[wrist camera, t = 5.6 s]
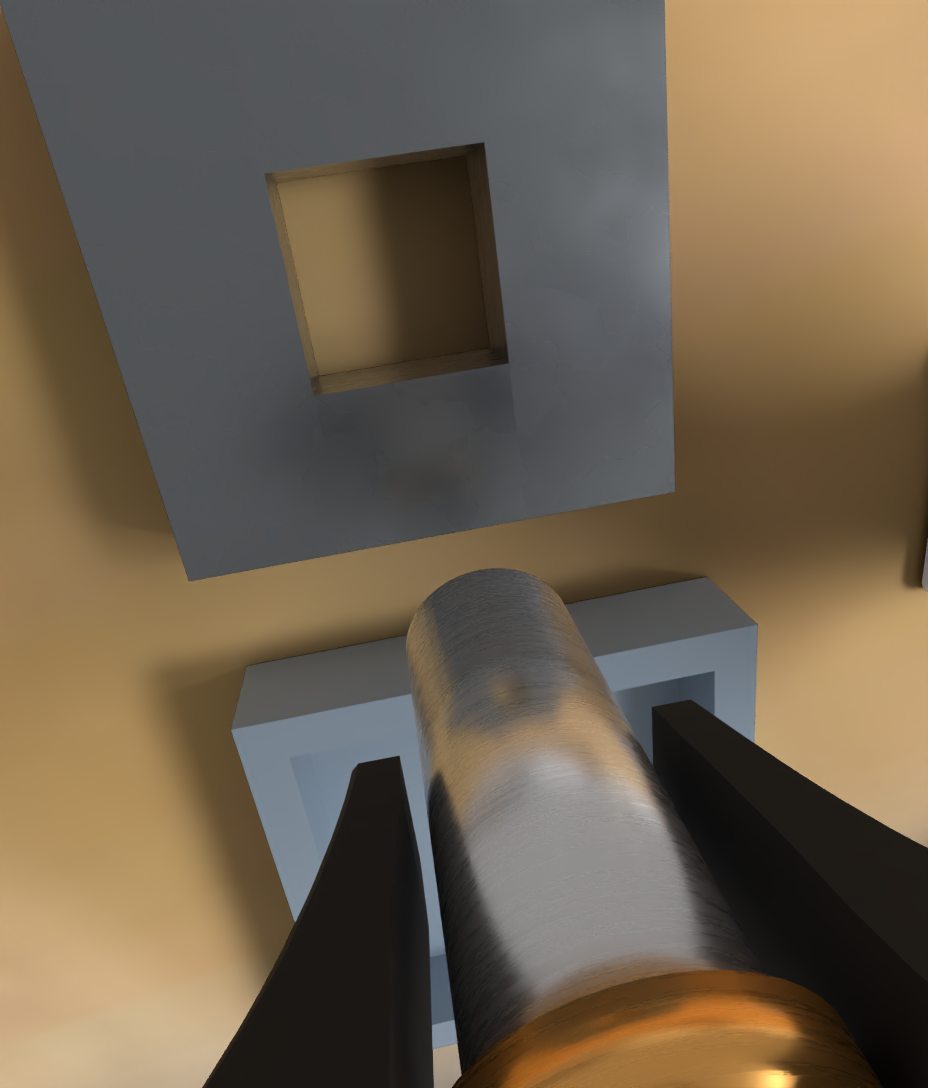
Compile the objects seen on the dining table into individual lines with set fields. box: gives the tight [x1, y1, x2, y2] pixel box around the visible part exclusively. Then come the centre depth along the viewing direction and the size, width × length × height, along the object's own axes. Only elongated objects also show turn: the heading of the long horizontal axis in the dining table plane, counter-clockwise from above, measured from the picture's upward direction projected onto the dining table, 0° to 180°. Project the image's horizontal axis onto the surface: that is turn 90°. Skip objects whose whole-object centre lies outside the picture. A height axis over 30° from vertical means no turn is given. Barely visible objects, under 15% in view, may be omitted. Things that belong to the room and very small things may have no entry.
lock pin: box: [406, 569, 883, 1088], centre depth 10 cm, size 4×4×9 cm
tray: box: [231, 577, 758, 1049], centre depth 23 cm, size 14×14×3 cm
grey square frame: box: [0, 0, 675, 581], centre depth 16 cm, size 12×12×2 cm
